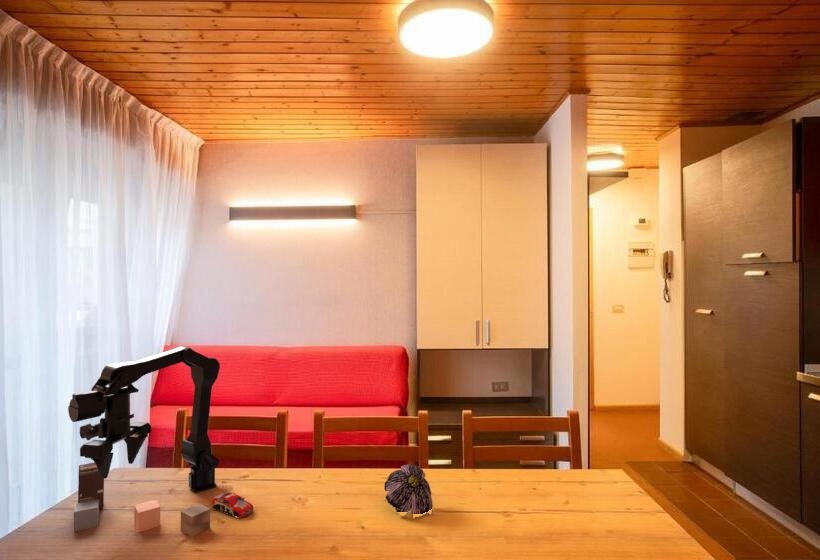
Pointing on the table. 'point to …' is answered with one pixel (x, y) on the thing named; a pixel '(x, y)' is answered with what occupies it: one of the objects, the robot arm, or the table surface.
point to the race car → (232, 504)
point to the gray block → (86, 515)
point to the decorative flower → (409, 490)
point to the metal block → (195, 519)
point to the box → (90, 484)
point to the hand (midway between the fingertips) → (118, 470)
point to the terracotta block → (146, 515)
